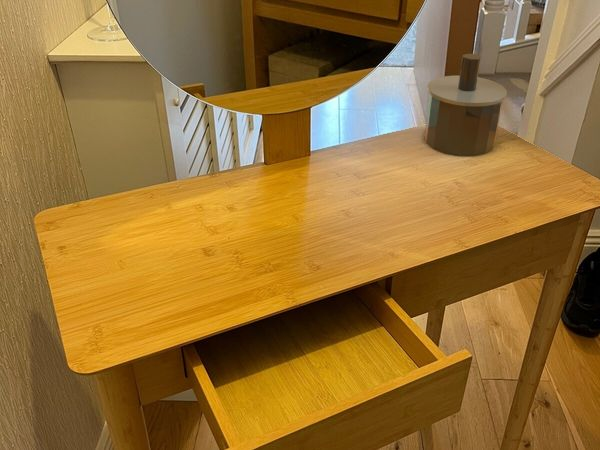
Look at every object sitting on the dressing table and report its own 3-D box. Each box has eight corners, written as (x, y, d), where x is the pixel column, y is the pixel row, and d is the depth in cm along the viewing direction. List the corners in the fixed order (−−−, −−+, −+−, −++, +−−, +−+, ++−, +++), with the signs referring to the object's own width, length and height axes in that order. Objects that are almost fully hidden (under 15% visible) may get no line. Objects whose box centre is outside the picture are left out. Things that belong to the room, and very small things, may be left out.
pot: (496, 143, 109) (507, 85, 103) (486, 171, 100) (497, 109, 94) (432, 132, 112) (439, 76, 107) (416, 158, 104) (423, 98, 98)
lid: (510, 88, 104) (517, 50, 100) (499, 115, 94) (507, 73, 91) (436, 78, 108) (440, 41, 104) (418, 103, 98) (423, 63, 95)
